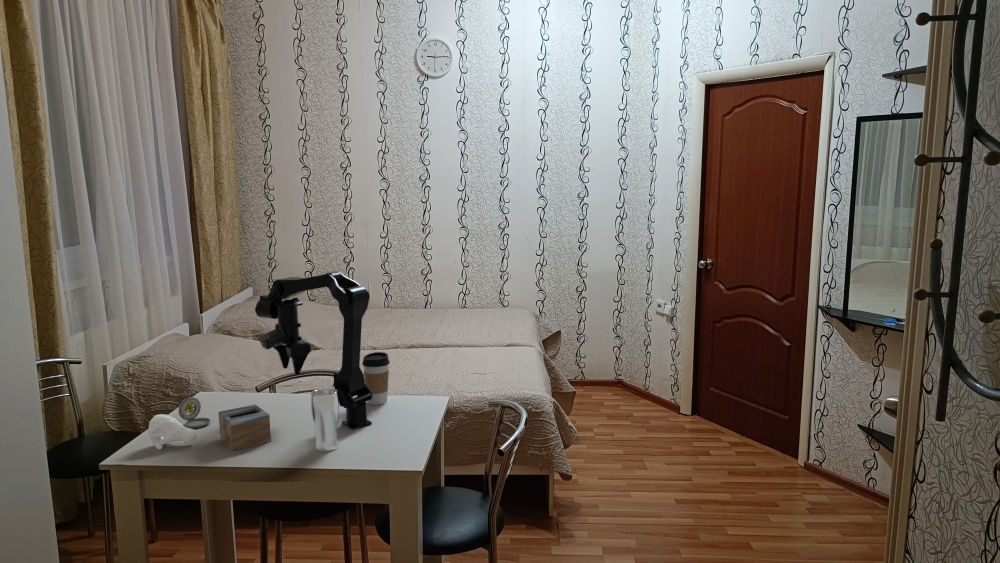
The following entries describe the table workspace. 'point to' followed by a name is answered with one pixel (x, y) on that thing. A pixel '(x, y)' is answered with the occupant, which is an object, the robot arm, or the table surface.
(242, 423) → the box
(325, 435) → the beer glass
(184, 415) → the pocket watch
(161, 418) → the white animal skull
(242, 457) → the table surface
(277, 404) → the table surface
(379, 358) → the coffee cup
